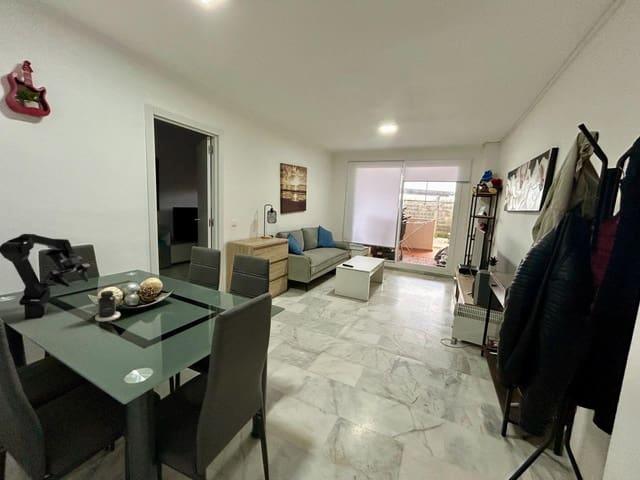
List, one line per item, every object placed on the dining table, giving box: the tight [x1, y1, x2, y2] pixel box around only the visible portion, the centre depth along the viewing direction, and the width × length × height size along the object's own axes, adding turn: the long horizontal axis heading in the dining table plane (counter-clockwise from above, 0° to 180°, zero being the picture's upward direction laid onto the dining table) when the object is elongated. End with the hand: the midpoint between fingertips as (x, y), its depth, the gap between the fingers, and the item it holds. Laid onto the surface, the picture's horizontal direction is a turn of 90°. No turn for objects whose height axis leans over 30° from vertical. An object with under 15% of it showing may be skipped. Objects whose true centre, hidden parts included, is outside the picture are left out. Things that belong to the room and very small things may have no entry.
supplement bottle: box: [97, 290, 117, 317], centre depth 135 cm, size 7×7×12 cm
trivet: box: [95, 311, 121, 322], centre depth 136 cm, size 10×10×1 cm
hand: (78, 283), depth 142 cm, fingers open, 9 cm apart
